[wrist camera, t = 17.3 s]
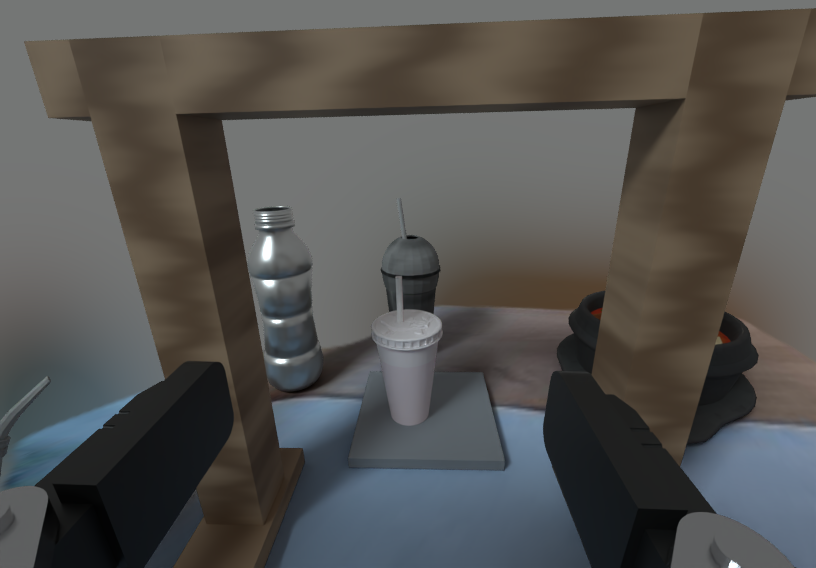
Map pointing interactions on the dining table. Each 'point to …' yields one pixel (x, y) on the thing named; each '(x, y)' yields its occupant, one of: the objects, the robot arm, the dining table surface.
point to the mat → (430, 428)
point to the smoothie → (407, 358)
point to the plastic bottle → (285, 300)
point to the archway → (434, 94)
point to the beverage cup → (411, 270)
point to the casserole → (724, 381)
